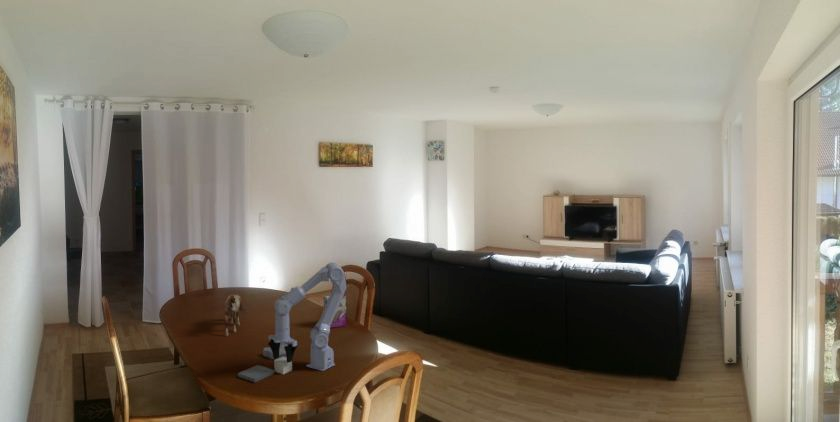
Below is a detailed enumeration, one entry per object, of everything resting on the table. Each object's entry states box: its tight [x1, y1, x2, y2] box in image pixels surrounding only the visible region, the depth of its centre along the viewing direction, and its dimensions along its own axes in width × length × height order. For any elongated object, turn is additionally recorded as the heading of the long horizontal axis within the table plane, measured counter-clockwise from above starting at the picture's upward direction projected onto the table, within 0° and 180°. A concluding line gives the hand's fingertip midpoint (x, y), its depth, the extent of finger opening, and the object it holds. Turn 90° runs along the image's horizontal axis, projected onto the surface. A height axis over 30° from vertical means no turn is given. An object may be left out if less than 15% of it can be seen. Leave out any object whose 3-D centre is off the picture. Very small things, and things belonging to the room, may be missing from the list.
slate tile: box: [237, 364, 275, 383], centre depth 209 cm, size 10×10×2 cm
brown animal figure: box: [223, 294, 247, 337], centre depth 266 cm, size 31×8×21 cm, turn 10°
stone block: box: [262, 343, 288, 360], centre depth 232 cm, size 12×5×10 cm
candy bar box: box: [323, 294, 347, 329], centre depth 271 cm, size 11×5×16 cm, turn 120°
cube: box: [273, 356, 293, 375], centre depth 214 cm, size 5×5×5 cm
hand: (282, 359), depth 213 cm, fingers open, 7 cm apart
